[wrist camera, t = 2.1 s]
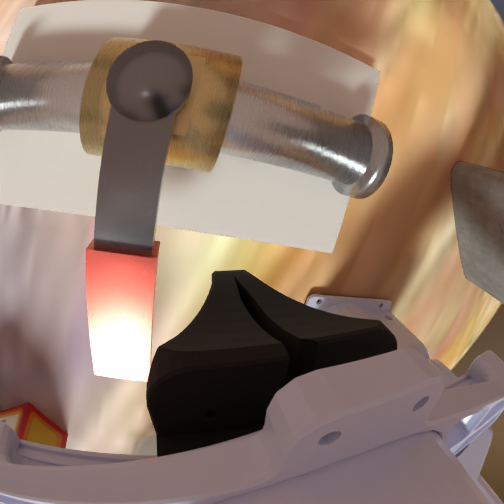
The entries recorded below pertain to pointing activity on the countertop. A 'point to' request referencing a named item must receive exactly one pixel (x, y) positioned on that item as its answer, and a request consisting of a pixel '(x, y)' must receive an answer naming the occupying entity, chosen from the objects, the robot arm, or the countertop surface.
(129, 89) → the valve lever
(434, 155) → the countertop surface
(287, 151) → the ball valve
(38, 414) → the baking soda box
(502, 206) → the hip flask
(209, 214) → the mounting board
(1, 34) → the countertop surface
